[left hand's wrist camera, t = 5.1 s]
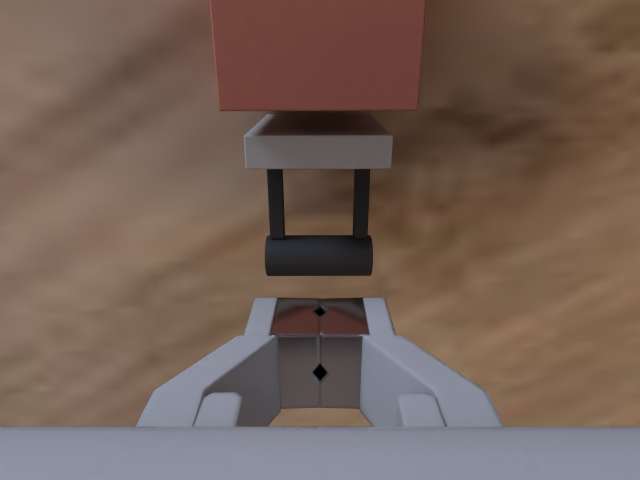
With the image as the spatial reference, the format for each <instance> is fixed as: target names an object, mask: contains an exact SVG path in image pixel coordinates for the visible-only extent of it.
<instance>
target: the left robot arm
mask: <svg viewBox="0 0 640 480" xmlns="http://www.w3.org/2000/svg"><path fill="white" fill-rule="evenodd" d="M285 408H355V409H359V410H360V412H361V413H362V414H363V415H364V417H365V418H366V419H367V420H368V421H369V423H370V424H371V425H372V426H373V427H268V425H269V424H270V423H271V422H272V421H273V419H274V418H275V417H276V416H277V415H278V413H279V412H280V411H281V409H285ZM0 480H640V427H505V426H504V424H503V423H502V421H501V419H500V417H499V415H498V413H497V411H496V409H495V407H494V405H493V403H492V401H491V399H490V397H489V395H488V393H487V391H485V390H484V389H482V388H481V387H479V386H478V385H476V384H475V383H473V382H472V381H470V380H469V379H467V378H466V377H464V376H463V375H461V374H460V373H458V372H457V371H455V370H454V369H452V368H451V367H449V366H448V365H446V364H444V363H443V362H441V361H440V360H438V359H437V358H435V357H434V356H432V355H431V354H429V353H428V352H426V351H425V350H423V349H422V348H420V347H419V346H417V345H416V344H414V343H413V342H411V341H410V340H408V339H407V338H405V337H404V336H402V335H396V334H395V330H394V327H393V323H392V320H391V317H390V313H389V310H388V306H387V303H386V299H385V298H384V297H376V298H328V299H320V298H278V299H277V297H266V298H255V300H254V302H253V306H252V309H251V313H250V316H249V320H248V323H247V327H246V330H245V334H244V335H238V336H236V337H235V338H233V339H232V340H230V341H229V342H227V343H226V344H224V345H223V346H221V347H220V348H218V349H217V350H215V351H214V352H212V353H211V354H209V355H207V356H206V357H204V358H203V359H201V360H200V361H198V362H197V363H195V364H194V365H192V366H191V367H189V368H188V369H186V370H185V371H183V372H182V373H180V374H179V375H177V376H176V377H174V378H173V379H171V380H169V381H168V382H166V383H165V384H163V385H162V386H160V387H159V388H157V389H156V390H154V392H153V394H152V396H151V398H150V399H149V401H148V403H147V405H146V407H145V409H144V411H143V413H142V415H141V417H140V419H139V421H138V423H137V425H136V426H135V427H0Z"/></svg>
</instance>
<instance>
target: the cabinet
mask: <svg viewBox="0 0 640 480" xmlns="http://www.w3.org/2000/svg"><path fill="white" fill-rule="evenodd" d="M209 1H210V13H211V24H212V36H213V48H214V59H215V71H216V83H217V95H218V106H219V110H220V111H416V110H417V109H418V99H419V87H420V74H421V61H422V49H423V36H424V23H425V10H426V0H209Z"/></svg>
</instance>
